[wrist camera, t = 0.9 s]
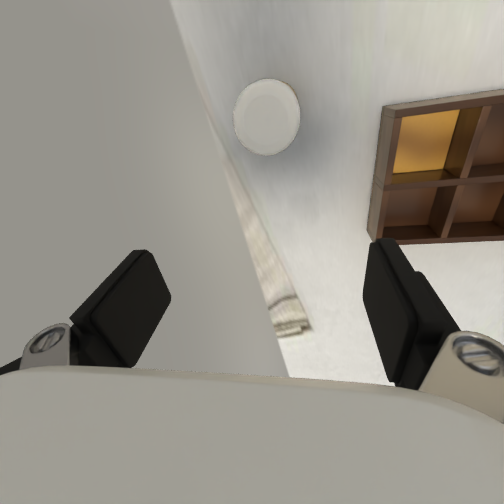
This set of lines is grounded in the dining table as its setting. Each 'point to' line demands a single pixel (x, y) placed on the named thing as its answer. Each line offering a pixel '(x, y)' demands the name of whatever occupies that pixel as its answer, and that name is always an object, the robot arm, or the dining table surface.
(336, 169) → the dining table surface
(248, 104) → the sprinkles bottle
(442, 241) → the tray
